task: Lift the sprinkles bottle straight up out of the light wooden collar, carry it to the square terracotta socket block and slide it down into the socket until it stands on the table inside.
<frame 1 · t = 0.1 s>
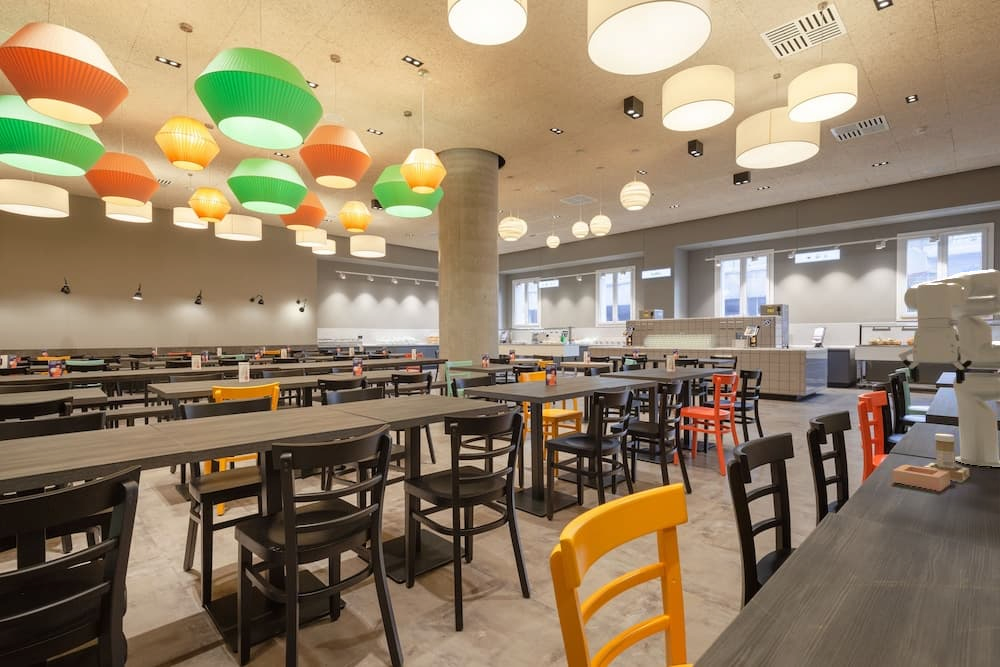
hand: (937, 382, 141), 31 cm above the table, tool pointing down, fingers open, 9 cm apart
sprinkles bottle: (946, 477, 151), resting in wooden collar
terracotta socket: (921, 483, 144), on the table
wooden collar: (946, 476, 151), on the table
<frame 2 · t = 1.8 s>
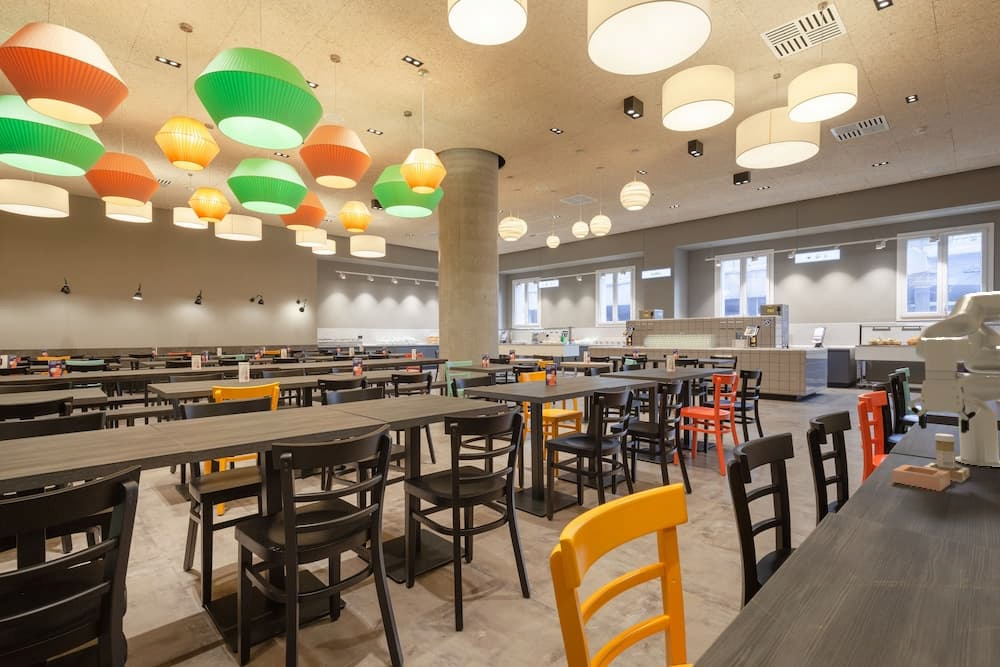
hand: (943, 430, 151), 15 cm above the table, tool pointing down, fingers open, 9 cm apart
nothing on the table moved.
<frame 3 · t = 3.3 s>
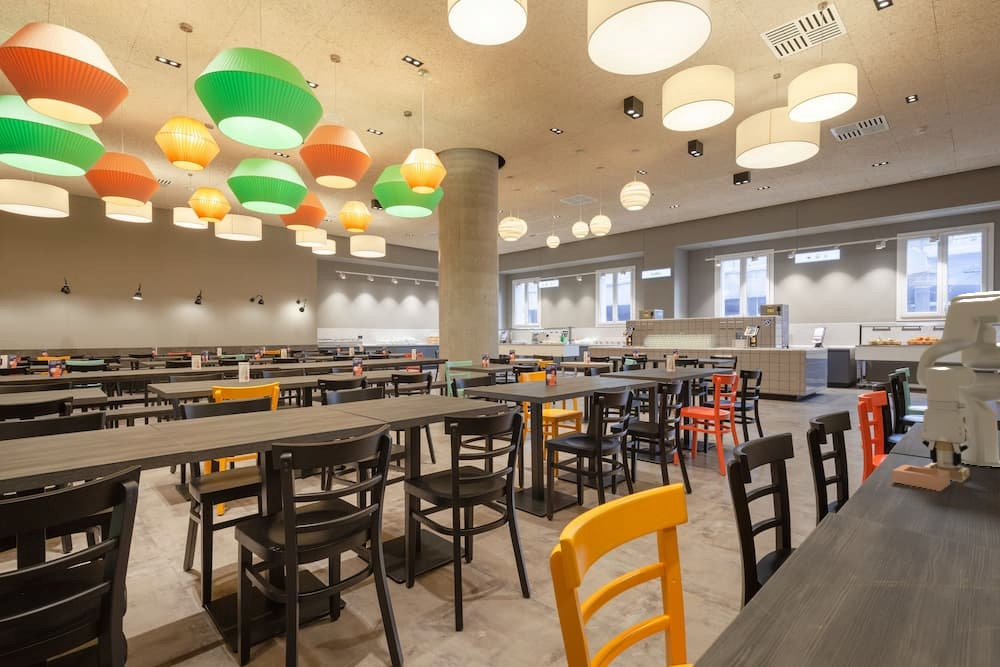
hand: (945, 463, 151), 4 cm above the table, tool pointing down, fingers closed on sprinkles bottle, 4 cm apart
sprinkles bottle: (946, 477, 151), resting in wooden collar, touching gripper
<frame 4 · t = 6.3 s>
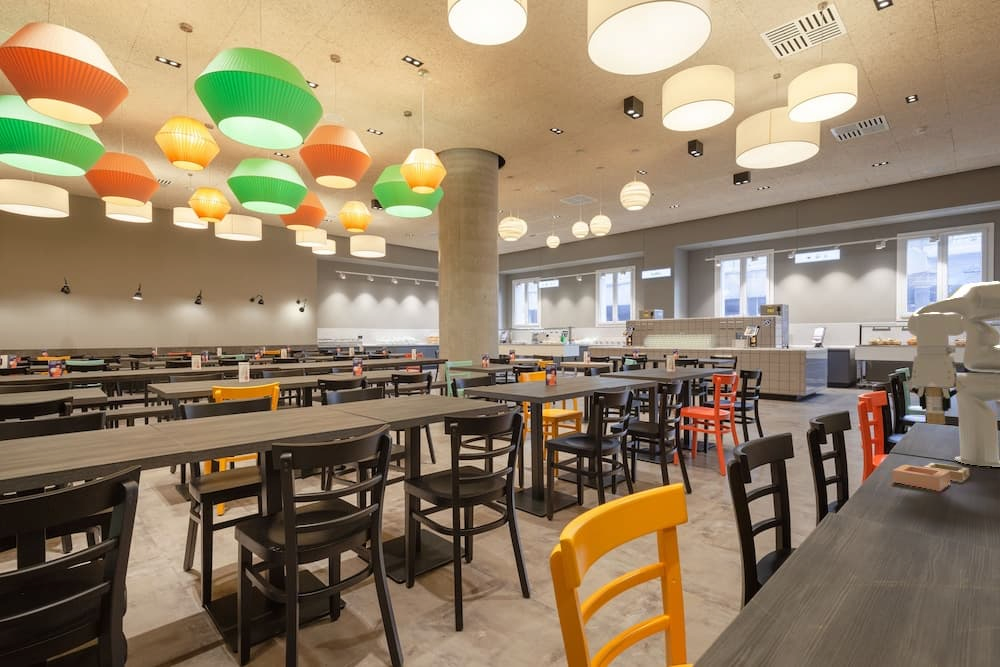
hand: (935, 409, 149), 22 cm above the table, tool pointing down, fingers closed on sprinkles bottle, 4 cm apart
sprinkles bottle: (935, 423, 149), point 17 cm above the table, touching gripper
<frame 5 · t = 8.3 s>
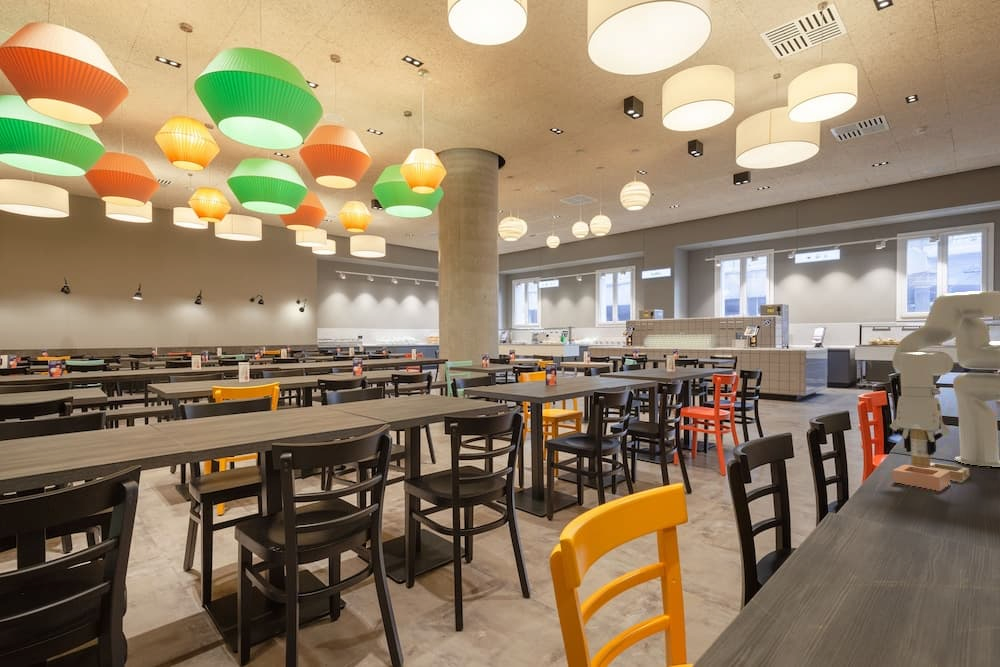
hand: (920, 452, 145), 10 cm above the table, tool pointing down, fingers closed on sprinkles bottle, 4 cm apart
sprinkles bottle: (920, 467, 145), point 5 cm above the table, touching gripper
when the fingers open (5 cm above the table, at t = 9.6 s): sprinkles bottle stays where it is, resting in terracotta socket.
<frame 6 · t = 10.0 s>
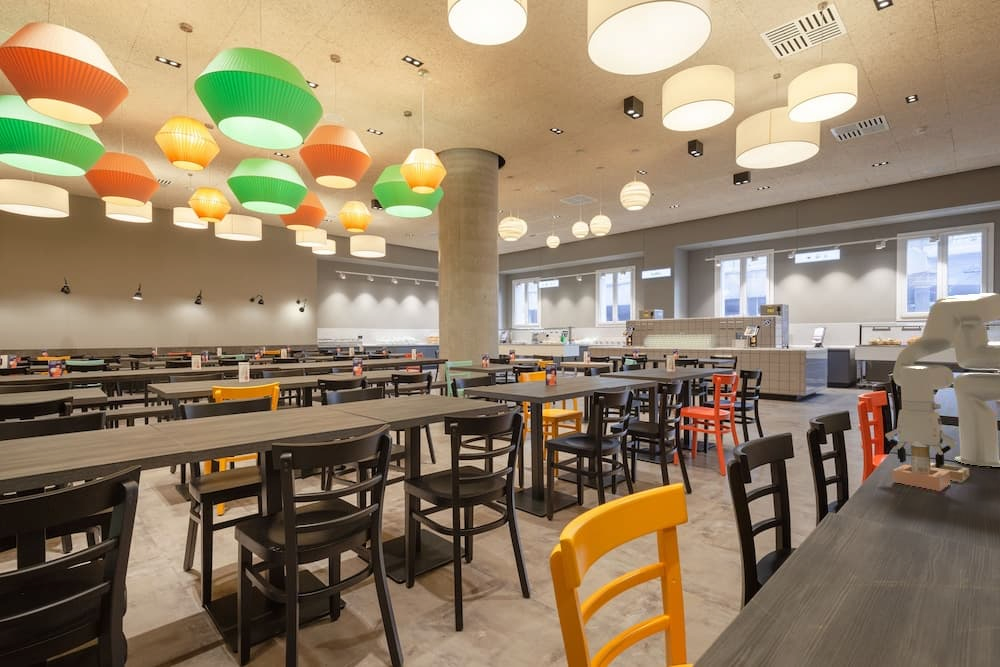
hand: (920, 464, 145), 6 cm above the table, tool pointing down, fingers open, 8 cm apart
sprinkles bottle: (921, 484, 145), resting in terracotta socket
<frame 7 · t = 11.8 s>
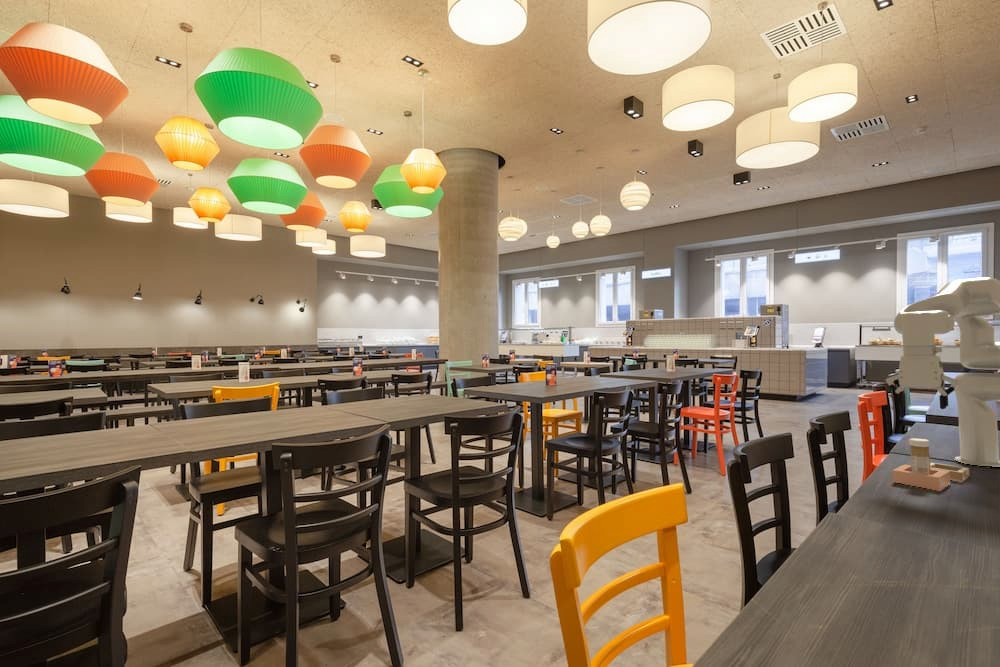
hand: (922, 407, 146), 23 cm above the table, tool pointing down, fingers open, 9 cm apart
nothing on the table moved.
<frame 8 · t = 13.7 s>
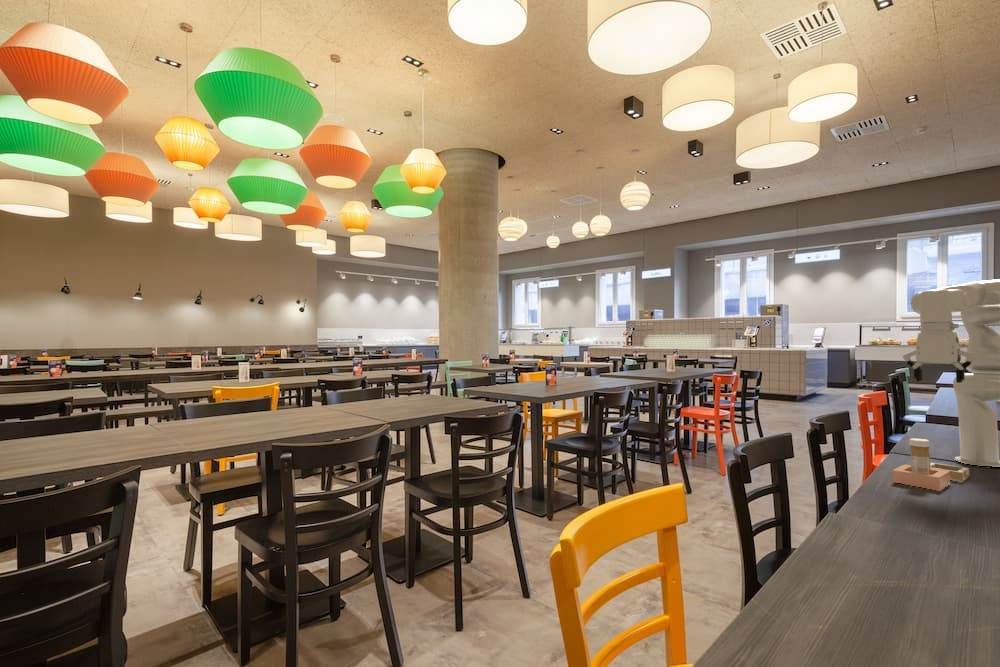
hand: (938, 381, 152), 30 cm above the table, tool pointing down, fingers open, 9 cm apart
nothing on the table moved.
at the end: sprinkles bottle 0.2 cm off-centre on the terracotta socket, point 0.0 cm above the terracotta socket's base; sprinkles bottle tilted 0°; the gripper is holding nothing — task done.
